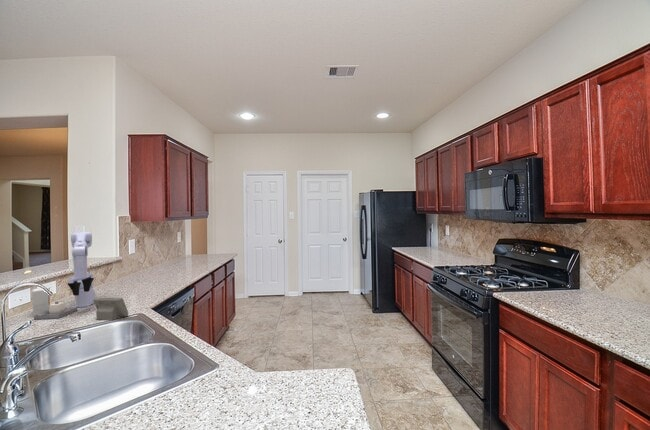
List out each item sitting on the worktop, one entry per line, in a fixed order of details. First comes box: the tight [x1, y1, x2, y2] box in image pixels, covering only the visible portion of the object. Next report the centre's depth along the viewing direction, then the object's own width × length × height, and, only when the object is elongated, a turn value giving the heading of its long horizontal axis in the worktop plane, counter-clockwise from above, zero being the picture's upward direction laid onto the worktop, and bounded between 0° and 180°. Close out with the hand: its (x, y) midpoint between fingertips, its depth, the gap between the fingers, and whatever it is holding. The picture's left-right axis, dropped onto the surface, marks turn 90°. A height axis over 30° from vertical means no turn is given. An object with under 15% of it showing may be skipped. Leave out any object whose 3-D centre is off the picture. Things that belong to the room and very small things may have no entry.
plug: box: [49, 301, 66, 313], centre depth 155 cm, size 4×4×6 cm
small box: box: [31, 286, 51, 317], centre depth 159 cm, size 8×6×13 cm
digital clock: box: [93, 296, 129, 321], centre depth 149 cm, size 16×9×11 cm, turn 70°
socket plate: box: [33, 306, 78, 321], centre depth 155 cm, size 12×12×3 cm
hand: (81, 293), depth 160 cm, fingers open, 7 cm apart
